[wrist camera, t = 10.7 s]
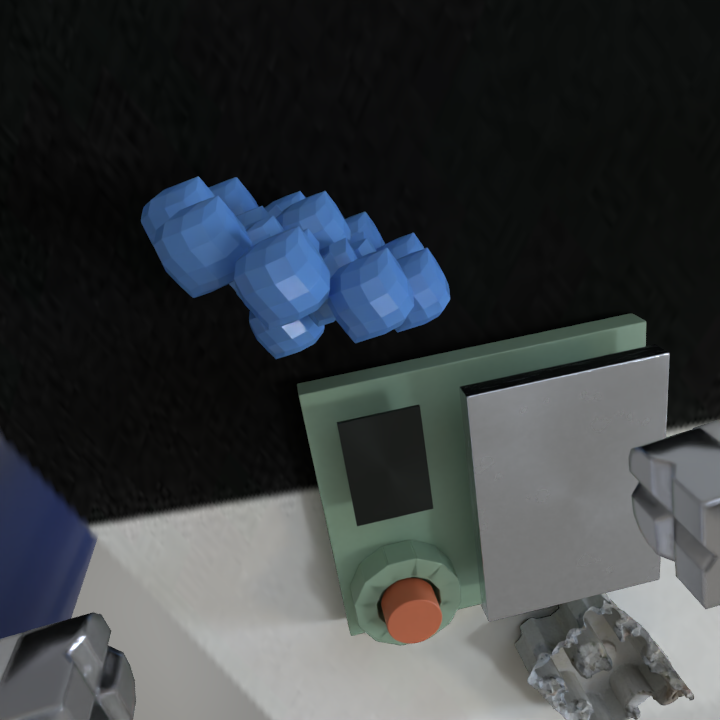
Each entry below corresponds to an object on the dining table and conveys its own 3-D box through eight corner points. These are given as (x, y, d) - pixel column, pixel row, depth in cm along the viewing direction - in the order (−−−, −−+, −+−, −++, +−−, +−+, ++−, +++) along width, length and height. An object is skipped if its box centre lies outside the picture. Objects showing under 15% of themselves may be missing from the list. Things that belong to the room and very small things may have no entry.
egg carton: (665, 649, 45) (703, 700, 41) (576, 709, 46) (606, 765, 42) (593, 564, 40) (629, 612, 37) (497, 632, 41) (522, 686, 38)
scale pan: (377, 632, 36) (381, 649, 35) (334, 412, 30) (338, 425, 29) (647, 565, 37) (660, 579, 36) (655, 343, 31) (670, 352, 30)
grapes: (144, 280, 29) (84, 392, 18) (176, 129, 27) (129, 156, 16) (382, 340, 32) (452, 467, 21) (428, 208, 30) (532, 276, 19)
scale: (347, 618, 39) (355, 658, 36) (296, 383, 32) (301, 410, 30) (627, 550, 41) (655, 583, 38) (631, 312, 34) (665, 331, 31)
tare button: (384, 625, 36) (391, 649, 35) (377, 584, 35) (383, 607, 33) (436, 612, 36) (445, 636, 35) (430, 571, 35) (439, 594, 34)
